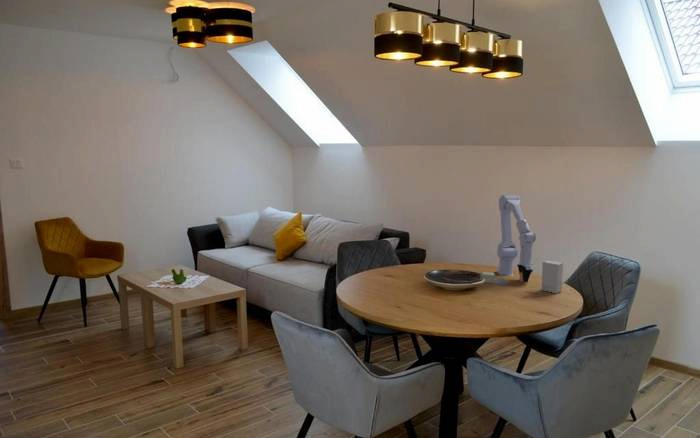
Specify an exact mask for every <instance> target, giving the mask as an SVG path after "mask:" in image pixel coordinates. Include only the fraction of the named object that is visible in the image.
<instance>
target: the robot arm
mask: <svg viewBox="0 0 700 438" xmlns="http://www.w3.org/2000/svg"><path fill="white" fill-rule="evenodd" d="M521 202H522V201H521V198H520V196H519V195H518V194H516V195H513V194H512V195H511V194H510V195H508V194H507V195H506V194H502V195H500V197H499V198H498V209H499V211H500V228H501V242H500V243H498V245H497V251H496V254H497V257H498V259H499V261H498V269H497V270H496V273H497V274H498V275H499V276H515V274H514V273H513V272H514V271H513V270H514V260H515V259H516V258H517V257H518V249H517V244H516V243H515V242H514V241H513V235H512V221H511V218H512V217H511V213H512V214H513V216H514V218H515V220H516V222H515V225H516V228H517V231H518V234H519V236H518V240H519V246H520V251H519V252H520V253H519V262H518V264H516V266H517V268H518V275H519V276H520V273H521V272H522V274H523V282H528V283H529V280H530V276H531V274H532V273H533V271H534V270H533V269H531V266H533V265H534V263H533V262H532V255H533V244H534V243H535V241H536V238H537V237H536V233H535V232H534V231H533V230H531V228H530V225H529V222H528V221H527V219H525V218H524V216H523V213H522V209H521Z"/></svg>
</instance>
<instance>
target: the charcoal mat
mask: <svg viewBox="0 0 700 438" xmlns="http://www.w3.org/2000/svg"><path fill="white" fill-rule="evenodd" d="M495 278H496V283H483V284H481V285H482V286H498V287H511V285H510V284H509V281H507V280H506V279H505V277H495ZM481 285H480V286H481Z"/></svg>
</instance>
